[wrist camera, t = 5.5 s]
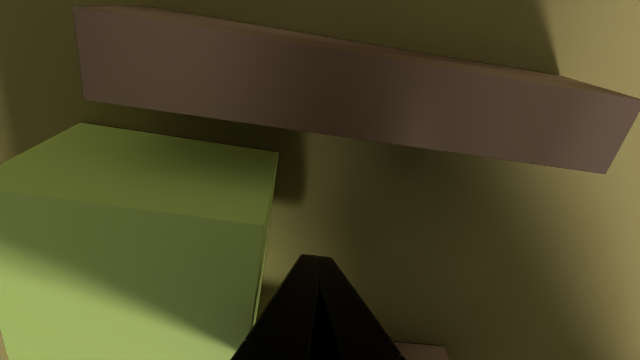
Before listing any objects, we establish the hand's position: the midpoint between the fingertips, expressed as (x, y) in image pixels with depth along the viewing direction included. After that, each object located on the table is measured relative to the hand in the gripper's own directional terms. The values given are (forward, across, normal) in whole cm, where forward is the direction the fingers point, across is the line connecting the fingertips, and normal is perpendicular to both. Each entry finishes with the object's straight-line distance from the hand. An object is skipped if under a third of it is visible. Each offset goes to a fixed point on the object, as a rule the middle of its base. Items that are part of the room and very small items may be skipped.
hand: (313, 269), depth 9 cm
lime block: (+2, +4, 0) cm, 4 cm away
